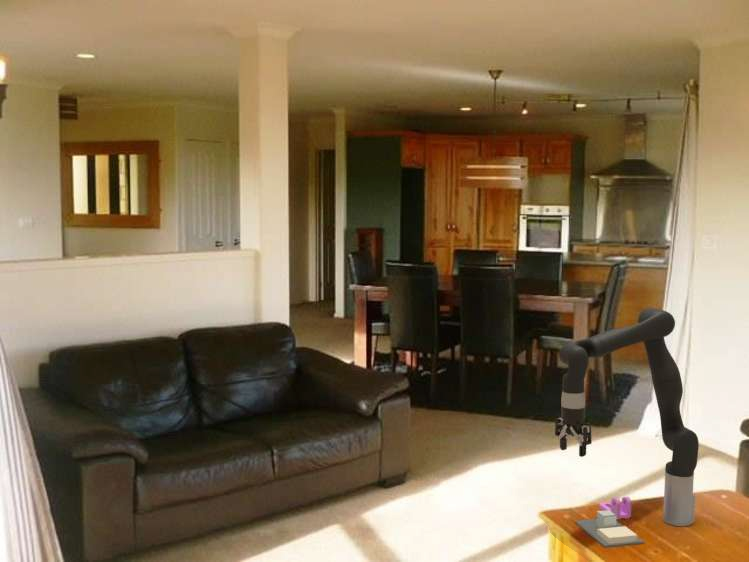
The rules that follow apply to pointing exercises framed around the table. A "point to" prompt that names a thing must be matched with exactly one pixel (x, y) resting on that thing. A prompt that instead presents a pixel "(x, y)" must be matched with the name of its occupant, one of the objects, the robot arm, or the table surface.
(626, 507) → the bracket
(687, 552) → the table surface
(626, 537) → the pad
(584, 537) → the table surface
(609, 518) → the stub
